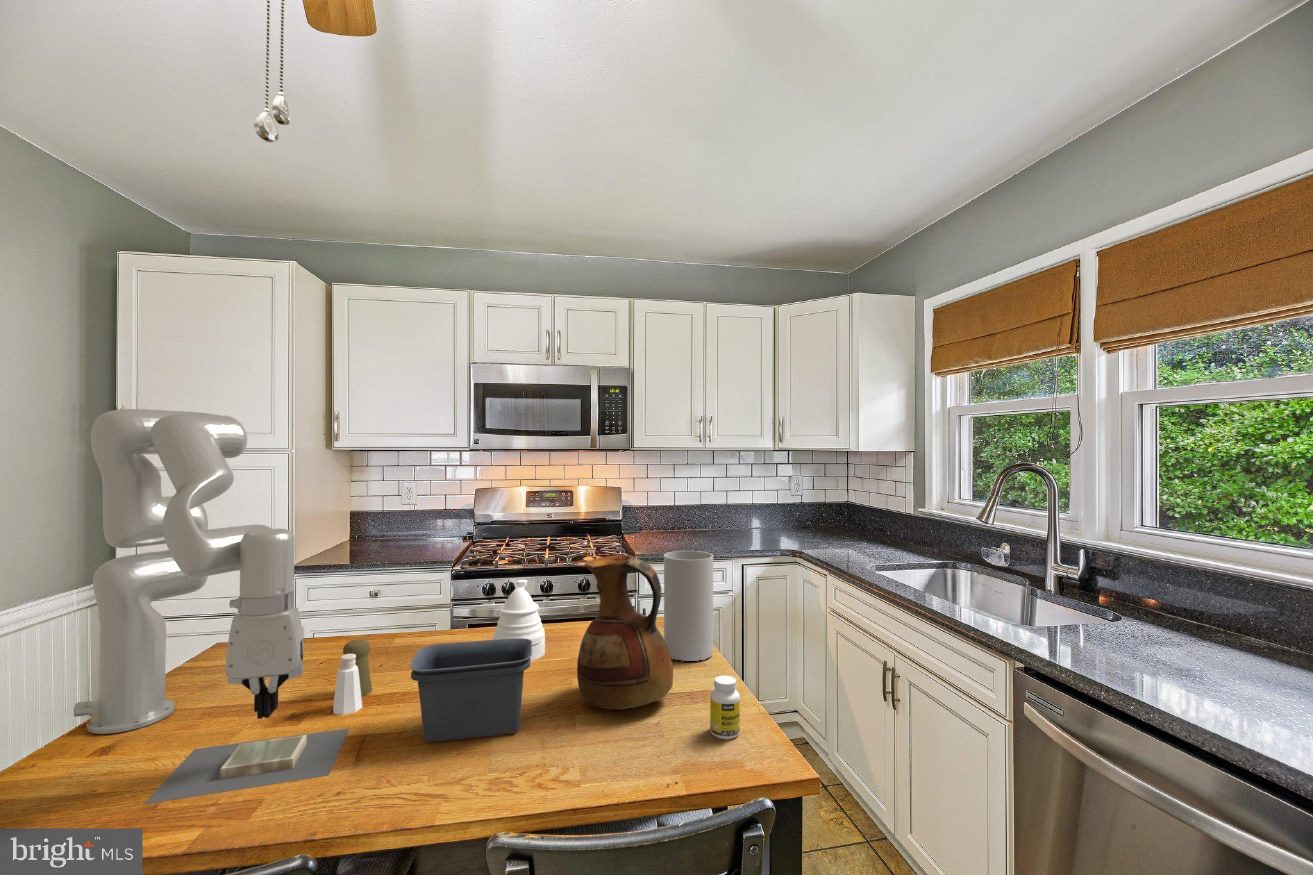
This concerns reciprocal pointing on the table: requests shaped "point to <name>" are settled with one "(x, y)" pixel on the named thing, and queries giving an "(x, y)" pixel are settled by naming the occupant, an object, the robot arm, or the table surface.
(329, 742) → the rubber mat
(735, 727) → the supplement bottle
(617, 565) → the ceramic pitcher
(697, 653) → the cylinder vase
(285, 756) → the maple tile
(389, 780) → the table surface
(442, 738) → the storage bin
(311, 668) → the table surface
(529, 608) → the honey pot
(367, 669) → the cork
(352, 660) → the salt shaker
